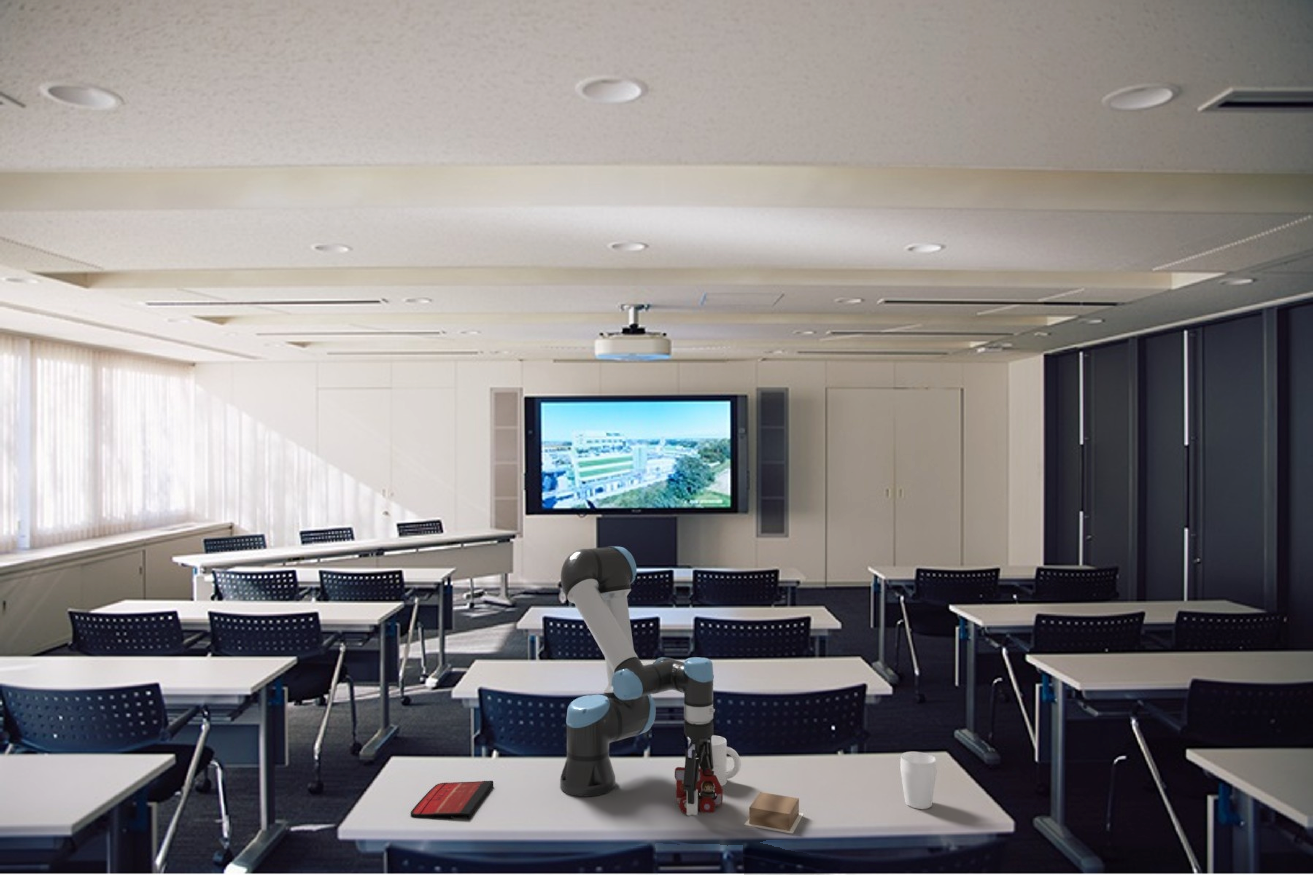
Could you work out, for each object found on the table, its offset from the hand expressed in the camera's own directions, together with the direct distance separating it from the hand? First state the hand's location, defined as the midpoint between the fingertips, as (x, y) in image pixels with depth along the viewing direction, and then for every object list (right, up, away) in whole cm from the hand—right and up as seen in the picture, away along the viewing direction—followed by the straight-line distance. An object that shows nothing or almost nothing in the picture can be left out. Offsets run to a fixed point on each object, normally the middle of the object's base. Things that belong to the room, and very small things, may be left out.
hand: (698, 807), depth 213 cm
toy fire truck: (0, -1, 0) cm, 1 cm away
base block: (+18, +1, -8) cm, 20 cm away
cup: (+57, -1, +3) cm, 58 cm away
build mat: (+18, 0, -8) cm, 20 cm away
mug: (+6, -1, +16) cm, 17 cm away
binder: (-65, -1, +4) cm, 65 cm away
